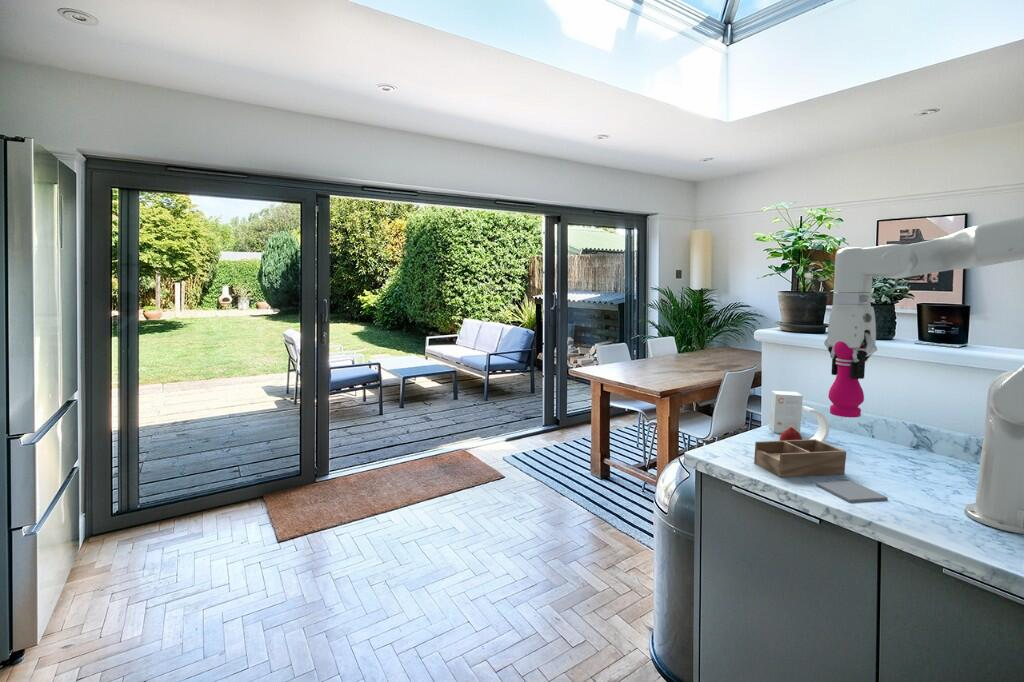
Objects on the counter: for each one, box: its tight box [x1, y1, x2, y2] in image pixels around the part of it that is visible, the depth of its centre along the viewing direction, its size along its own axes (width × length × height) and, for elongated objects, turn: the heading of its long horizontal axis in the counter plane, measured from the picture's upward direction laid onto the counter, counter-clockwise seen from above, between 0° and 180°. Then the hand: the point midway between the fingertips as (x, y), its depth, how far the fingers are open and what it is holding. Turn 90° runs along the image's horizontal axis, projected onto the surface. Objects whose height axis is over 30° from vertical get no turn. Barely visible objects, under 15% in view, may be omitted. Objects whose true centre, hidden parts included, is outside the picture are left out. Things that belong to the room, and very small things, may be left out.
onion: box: [779, 426, 803, 441], centre depth 150 cm, size 6×6×8 cm
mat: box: [815, 480, 889, 503], centre depth 122 cm, size 10×10×1 cm
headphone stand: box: [802, 405, 830, 443], centre depth 156 cm, size 5×6×12 cm
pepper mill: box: [828, 341, 865, 418], centre depth 124 cm, size 7×7×20 cm
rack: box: [753, 438, 847, 478], centre depth 137 cm, size 11×18×6 cm, turn 100°
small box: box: [768, 390, 804, 435], centre depth 172 cm, size 8×6×13 cm
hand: (847, 375), depth 124 cm, fingers closed on pepper mill, 5 cm apart
